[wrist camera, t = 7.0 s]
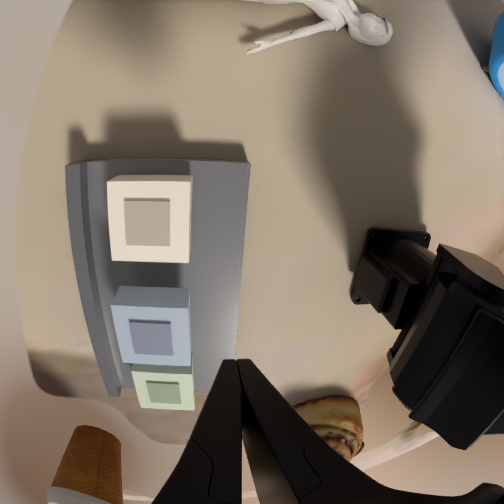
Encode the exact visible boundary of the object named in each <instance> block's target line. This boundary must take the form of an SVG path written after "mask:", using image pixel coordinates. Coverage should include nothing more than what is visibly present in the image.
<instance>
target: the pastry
mask: <svg viewBox="0 0 504 504" xmlns="http://www.w3.org/2000/svg"><path fill="white" fill-rule="evenodd" d="M294 409H295V410H296V412H297V413H298V414H299V415H300V416H301V417H302V418H303V419H304V420H305V421H306V422H307V423H308V424H309V425H310V427H311V428H312V430H314V431H315V432H316V433H317V434H318V435H319V436H320V437H321V438H322V439H323V440H324V441H325V442H326V443H327V444H328V445H329V446H330V447H332V448H333V449H334V450H335V451H336V452H337V453H339V454H340V455H341V456H342V457H344V458H345V459H346V460H347V461H350V460H351V459H352V458H353V457H354V456H356V455H357V454H358V453H359V452H361V451H362V449H363V448H364V442H363V441H362V439H363V426H362V420H361V414H360V408H359V405H358V403H357V402H356V401H355V400H353V399H352V398H348V397H345V396H342V395H332V396H326V397H323V398H320V399H313V400H310V401H307V402H304V403H301V404H297V405H295V406H294Z"/></svg>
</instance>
